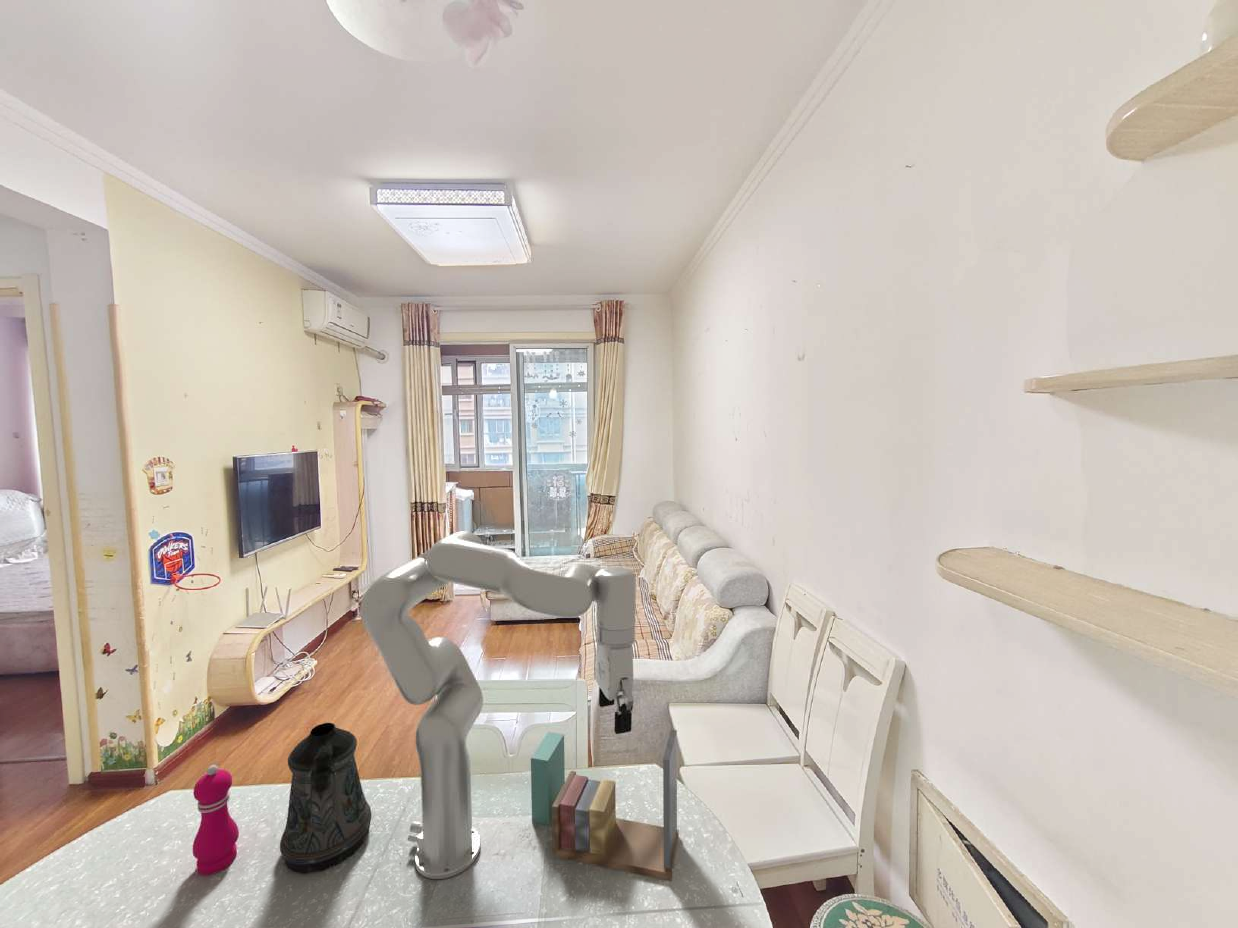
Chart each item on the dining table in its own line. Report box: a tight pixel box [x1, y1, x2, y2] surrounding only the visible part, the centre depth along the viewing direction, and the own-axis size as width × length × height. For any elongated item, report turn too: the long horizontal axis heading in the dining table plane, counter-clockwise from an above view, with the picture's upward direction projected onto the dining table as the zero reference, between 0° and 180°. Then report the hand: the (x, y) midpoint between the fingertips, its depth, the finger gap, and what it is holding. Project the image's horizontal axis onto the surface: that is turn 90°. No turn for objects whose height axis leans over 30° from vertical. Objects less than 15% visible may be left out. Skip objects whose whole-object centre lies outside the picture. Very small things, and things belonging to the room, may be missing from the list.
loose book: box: [530, 731, 566, 826], centre depth 115 cm, size 4×10×14 cm, turn 166°
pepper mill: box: [192, 764, 240, 876], centre depth 100 cm, size 7×7×20 cm
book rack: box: [551, 770, 680, 882], centre depth 103 cm, size 24×11×10 cm, turn 76°
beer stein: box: [279, 722, 372, 875], centre depth 104 cm, size 16×19×25 cm
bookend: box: [662, 728, 678, 870], centre depth 100 cm, size 1×10×22 cm, turn 166°
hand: (614, 717), depth 98 cm, fingers open, 9 cm apart
